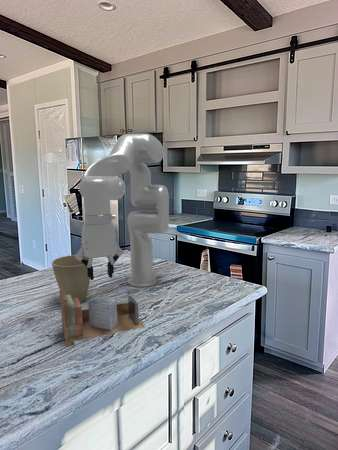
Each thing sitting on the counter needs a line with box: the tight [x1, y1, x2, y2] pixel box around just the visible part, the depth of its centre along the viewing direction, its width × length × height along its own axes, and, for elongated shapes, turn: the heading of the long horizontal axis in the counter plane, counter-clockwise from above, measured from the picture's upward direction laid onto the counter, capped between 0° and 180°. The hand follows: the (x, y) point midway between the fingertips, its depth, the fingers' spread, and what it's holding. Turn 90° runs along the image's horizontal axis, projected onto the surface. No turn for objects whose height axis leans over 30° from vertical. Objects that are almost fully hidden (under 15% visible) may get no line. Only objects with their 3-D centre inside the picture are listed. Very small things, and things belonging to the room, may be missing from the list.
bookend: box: [127, 295, 140, 325], centre depth 116 cm, size 1×8×7 cm, turn 23°
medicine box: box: [87, 296, 118, 330], centre depth 112 cm, size 8×4×9 cm, turn 68°
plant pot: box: [51, 254, 91, 303], centre depth 135 cm, size 15×15×16 cm
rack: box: [58, 286, 146, 347], centre depth 111 cm, size 24×12×14 cm, turn 113°
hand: (100, 277), depth 110 cm, fingers open, 5 cm apart
